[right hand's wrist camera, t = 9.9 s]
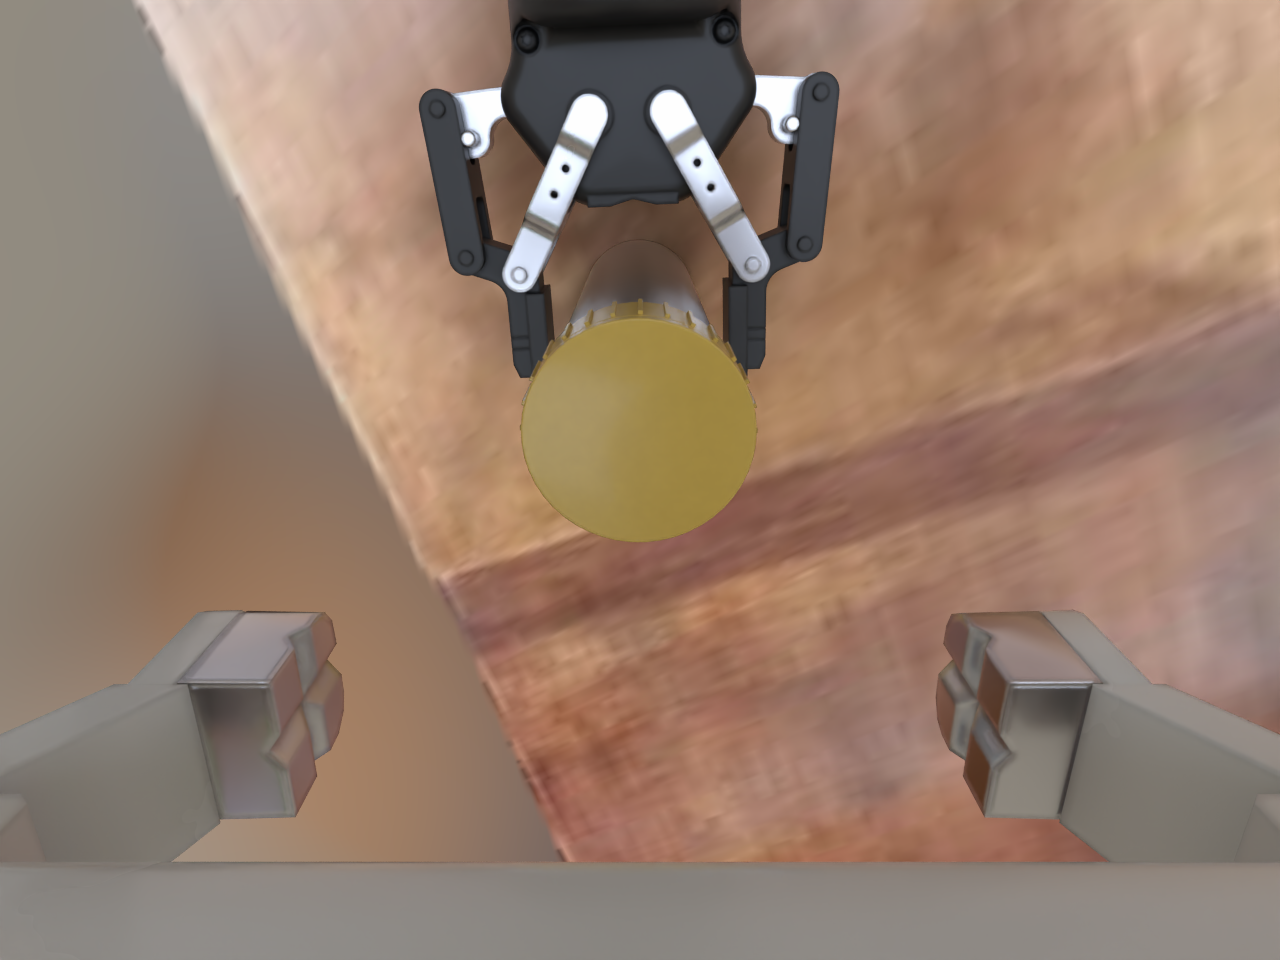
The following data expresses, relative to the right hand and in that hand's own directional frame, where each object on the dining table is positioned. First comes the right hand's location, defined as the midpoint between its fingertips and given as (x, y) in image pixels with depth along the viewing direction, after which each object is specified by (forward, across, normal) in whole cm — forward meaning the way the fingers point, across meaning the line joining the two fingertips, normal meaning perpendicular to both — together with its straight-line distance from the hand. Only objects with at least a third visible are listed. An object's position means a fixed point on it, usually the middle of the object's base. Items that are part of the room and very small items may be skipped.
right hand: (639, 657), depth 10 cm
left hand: (+22, 0, -2) cm, 22 cm away
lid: (+9, 0, 0) cm, 9 cm away
